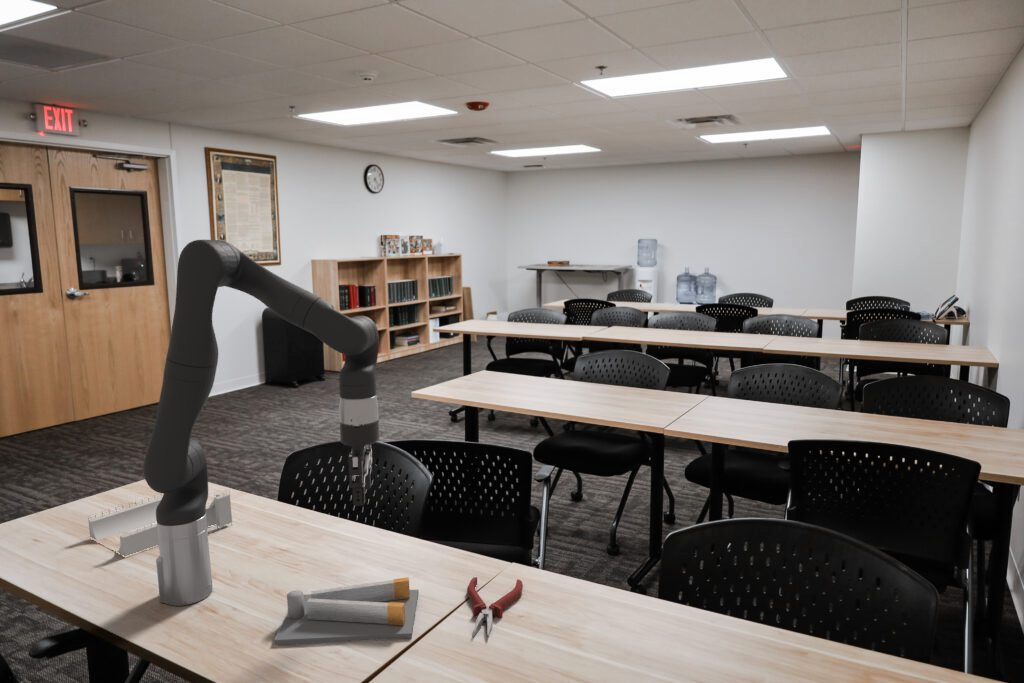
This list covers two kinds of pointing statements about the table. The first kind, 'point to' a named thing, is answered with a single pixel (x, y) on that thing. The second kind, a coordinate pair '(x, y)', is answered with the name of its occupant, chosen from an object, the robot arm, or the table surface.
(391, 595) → the leg
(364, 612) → the leg
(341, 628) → the mat
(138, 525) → the skate ramp
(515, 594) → the pliers
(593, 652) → the table surface
